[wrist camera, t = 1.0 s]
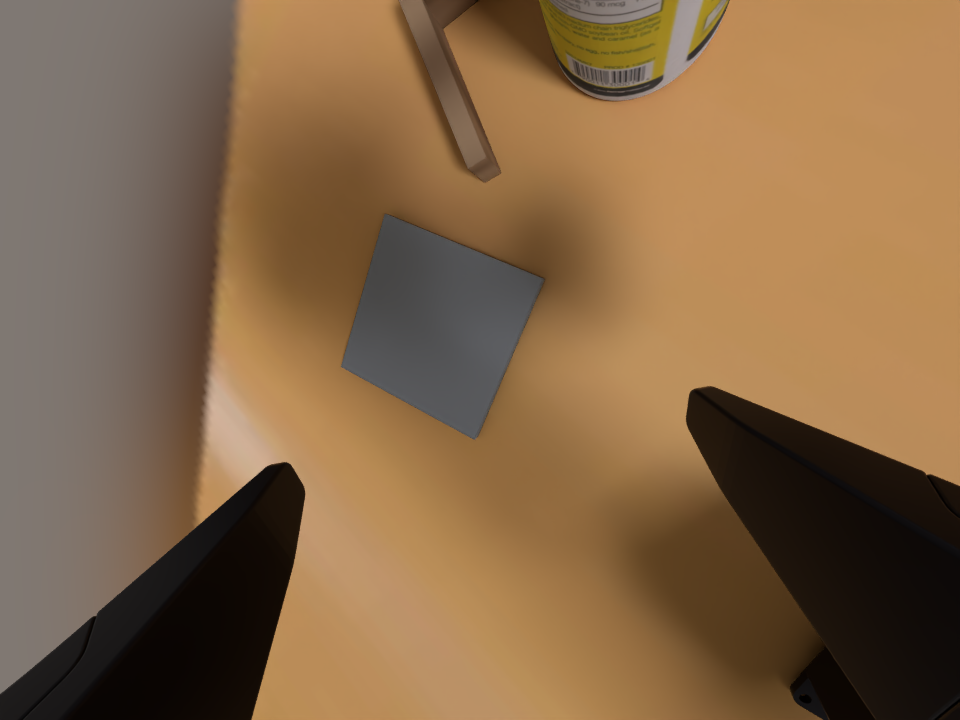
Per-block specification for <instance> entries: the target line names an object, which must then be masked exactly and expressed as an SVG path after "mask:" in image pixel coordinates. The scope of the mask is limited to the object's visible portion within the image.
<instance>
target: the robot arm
mask: <svg viewBox="0 0 960 720" xmlns="http://www.w3.org/2000/svg"><path fill="white" fill-rule="evenodd" d="M686 423H687V427H688V429H689V431H690V433H691V435H692V437H693V439H694V441H695V442H696V444H697V446H698V448H699V450H700V452H701V454H702V456H703V458H704V459H705V461H706V463H707V465H708V467H709V469H710V471H711V473H712V475H713V477H714V478H715V480H716V482H717V484H718V486H719V487H720V489H721V491H722V492H723V494H724V495H725V497H726V498H727V500H728V502H729V503H730V505H731V506H732V507H733V509H734V510H735V512H736V513H737V515H738V516H739V518H740V519H741V521H742V522H743V524H744V525H745V527H746V528H747V530H748V531H749V533H750V534H751V536H752V537H753V539H754V540H755V542H756V543H757V545H758V546H759V547H760V549H761V550H762V552H763V553H764V555H765V556H766V558H767V559H768V561H769V562H770V564H771V565H772V567H773V568H774V570H775V571H776V573H777V574H778V576H779V577H780V579H781V580H782V582H783V583H784V585H785V586H786V588H787V589H788V590H789V592H790V593H791V595H792V596H793V598H794V599H795V601H796V602H797V604H798V605H799V607H800V608H801V610H802V611H803V613H804V614H805V616H806V617H807V619H808V620H809V622H810V623H811V625H812V626H813V628H814V629H815V631H816V632H817V633H818V635H819V636H820V638H821V639H822V641H823V642H824V644H825V645H826V647H825V648H824V649H823V650H822V651H821V652H820V654H819V655H818V656H817V657H816V658H815V659H814V660H813V661H812V662H811V663H810V665H809V666H808V667H807V668H806V669H805V670H804V671H803V672H802V673H801V675H800V676H799V677H798V678H797V679H796V680H795V681H794V682H793V683H792V684H791V686H790V692H791V694H792V696H793V699H794V700H795V702H796V703H797V704H798V705H800V706H802V707H803V708H805V709H807V710H808V711H810V712H812V713H813V714H815V715H817V716H818V717H820V718H822V719H823V720H960V486H958V485H956V484H954V483H951V482H949V481H946V480H944V479H941V478H939V477H936V476H934V475H931V474H929V475H926V474H925V472H923V471H921V470H919V469H916V468H914V467H911V466H909V465H906V464H904V463H901V462H899V461H896V460H894V459H891V458H889V457H886V456H884V455H881V454H879V453H877V452H874V451H872V450H869V449H867V448H864V447H862V446H859V445H857V444H854V443H852V442H849V441H847V440H844V439H842V438H839V437H837V436H834V435H832V434H829V433H827V432H824V431H822V430H820V429H817V428H815V427H812V426H810V425H807V424H805V423H802V422H800V421H797V420H795V419H792V418H790V417H787V416H785V415H782V414H780V413H777V412H775V411H772V410H770V409H767V408H765V407H762V406H760V405H758V404H755V403H753V402H750V401H748V400H745V399H743V398H740V397H738V396H735V395H733V394H730V393H728V392H725V391H723V390H720V389H718V388H715V387H712V386H707V387H701V388H696V389H693V390H692V391H691V392H690V394H689V400H688V407H687V414H686ZM304 500H305V489H304V486H303V484H302V482H301V480H300V479H299V477H298V475H297V474H296V472H295V471H294V469H293V467H292V466H291V464H289V463H287V462H282V463H277V464H271V465H269V466H267V467H266V468H264V469H263V470H262V471H261V472H260V473H259V474H257V475H256V476H255V477H254V478H253V479H252V480H251V481H249V482H248V483H247V484H246V485H245V486H244V487H242V488H241V489H240V490H239V491H238V492H237V493H235V494H234V495H233V496H232V497H231V498H230V499H229V500H227V501H226V502H225V503H224V504H223V505H222V506H220V507H219V508H218V509H217V510H216V511H215V512H213V513H212V514H211V515H210V516H209V517H208V518H206V519H205V520H204V521H203V522H202V523H201V524H200V525H198V526H197V527H196V528H195V529H194V530H193V531H191V532H190V533H189V534H188V535H187V536H186V537H185V538H183V539H182V540H181V541H180V542H179V543H178V544H176V545H175V546H174V547H173V548H172V549H171V550H170V551H168V552H167V553H166V554H165V555H164V556H163V557H161V558H160V559H159V560H158V561H157V562H156V563H155V564H153V565H152V566H151V567H150V568H149V569H148V570H146V571H145V572H144V573H143V574H142V575H140V576H139V577H138V578H137V579H136V580H135V581H134V582H132V583H131V584H130V585H129V586H128V587H127V588H125V589H124V590H123V591H122V592H121V593H120V594H118V595H117V596H116V597H115V598H114V599H113V600H112V601H110V602H109V603H108V604H107V605H106V606H105V607H104V608H102V609H101V610H100V611H99V612H98V613H97V616H93V617H92V618H90V619H89V620H88V621H87V622H86V623H85V624H84V625H82V626H81V627H80V628H79V629H78V630H77V631H76V632H74V633H73V634H72V635H71V636H70V637H69V638H67V639H66V640H65V641H64V642H63V643H61V644H60V645H59V646H58V647H57V648H56V649H55V650H53V651H52V652H51V653H50V654H48V655H47V656H46V657H45V658H44V659H43V660H41V661H40V662H39V663H38V664H37V665H35V666H34V667H33V668H32V669H31V670H30V671H28V672H27V673H26V674H25V675H23V676H22V677H21V678H20V679H18V680H17V681H16V682H15V683H13V684H12V685H11V686H10V687H8V688H7V689H6V690H5V691H4V692H2V693H1V694H0V720H251V719H252V715H253V712H254V708H255V704H256V701H257V697H258V693H259V690H260V686H261V682H262V679H263V675H264V671H265V668H266V664H267V660H268V657H269V653H270V649H271V646H272V642H273V638H274V635H275V631H276V627H277V624H278V620H279V616H280V613H281V609H282V605H283V602H284V598H285V594H286V591H287V587H288V583H289V580H290V576H291V572H292V568H293V564H294V559H295V554H296V549H297V543H298V537H299V531H300V525H301V519H302V512H303V506H304ZM802 694H806V695H805V696H802Z"/></svg>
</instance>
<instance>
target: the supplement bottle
mask: <svg viewBox="0 0 960 720" xmlns="http://www.w3.org/2000/svg"><path fill="white" fill-rule="evenodd" d="M729 1H730V0H539V3H540V6H541V10H542V13H543V17H544V20H545V23H546V27H547V30H548V34H549V37H550V41H551V44H552V48H553V51H554V54H555V56H556V59H557V61H558V64H559V66H560V68H561V69H562V71H563V73H564V74H565V75H566V77H567V78H568V79H569V80H570V81H571V82H572V83H573V84H574V85H575V86H576V87H577V88H578V89H580V90H581V91H583V92H584V93H586V94H588V95H590V96H593V97H595V98H599V99H603V100H610V101H623V100H631V99H635V98H639V97H642V96H645V95H648V94H650V93H652V92H655V91H657V90H659V89H660V88H662V87H664V86H666V85H667V84H669V83H670V82H672V81H673V80H674V79H676V78H677V77H678V76H679V75H680V74H682V73H683V72H684V71H685V70H686V69H687V68H688V67H689V66H690V65H691V64H692V63H693V62H694V61H695V60H696V59H697V58H698V57H699V56H700V54H701V53H702V52H703V51H704V49H705V48H706V47H707V45H708V44H709V42H710V41H711V39H712V38H713V36H714V34H715V33H716V31H717V29H718V27H719V25H720V23H721V21H722V18H723V16H724V13H725V11H726V8H727V6H728V3H729Z"/></svg>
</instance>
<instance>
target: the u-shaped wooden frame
mask: <svg viewBox="0 0 960 720" xmlns="http://www.w3.org/2000/svg"><path fill="white" fill-rule="evenodd" d="M477 1H478V0H399V2H400V4H401V7H402V9H403V12H404V14H405V17H406V19H407V21H408V24H409V26H410V29H411V31H412V34H413V36H414V39H415V41H416V43H417V46H418V48H419V51H420V53H421V56H422V58H423V60H424V63H425V65H426V68H427V70H428V73H429V75H430V78H431V80H432V82H433V85H434V87H435V90H436V92H437V95H438V97H439V99H440V102H441V104H442V107H443V109H444V112H445V114H446V117H447V119H448V121H449V124H450V126H451V129H452V131H453V134H454V136H455V138H456V141H457V143H458V146H459V148H460V151H461V153H462V156H463V158H464V160H465V163H466V165H467V168H468V169H469V170H470V171H471V172H472V173H474V174H475V175H476V176H477V177H479V178H480V179H481V180H482V181H483V182H487V181H489V180H490V179H492V178H494V177H495V176H497V175H499V174H500V173H501V171H500V168H499V166H498V163H497V161H496V158H495V156H494V153H493V151H492V149H491V146H490V144H489V141H488V139H487V136H486V134H485V131H484V129H483V127H482V124H481V122H480V119H479V117H478V114H477V112H476V109H475V107H474V104H473V102H472V100H471V97H470V95H469V92H468V90H467V87H466V85H465V82H464V80H463V78H462V75H461V73H460V70H459V68H458V65H457V63H456V60H455V58H454V55H453V53H452V51H451V48H450V46H449V43H448V41H447V38H446V36H445V33H444V31H443V28H444V27H446V26H447V25H448V24H449V23H451V22H452V21H453V20H454V19H456V18H457V17H458V16H459V15H461V14H462V13H463V12H464V11H465V10H467V9H468V8H469V7H470V6H472V5H473V4H474V3H475V2H477Z"/></svg>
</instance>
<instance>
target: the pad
mask: <svg viewBox="0 0 960 720" xmlns="http://www.w3.org/2000/svg"><path fill="white" fill-rule="evenodd" d="M544 280H545V279H544V278H541V277H539V276H536V275H534V274H531V273H529V272H527V271H524V270H522V269H519V268H517V267H514V266H512V265H510V264H507V263H505V262H502V261H500V260H497V259H495V258H493V257H490V256H488V255H485V254H483V253H480V252H478V251H476V250H473V249H471V248H468V247H466V246H463V245H461V244H459V243H456V242H454V241H451V240H449V239H446V238H444V237H442V236H439V235H437V234H434V233H432V232H429V231H427V230H425V229H422V228H420V227H417V226H415V225H412V224H410V223H408V222H405V221H403V220H400V219H398V218H395V217H393V216H391V215H388V214H385V215H384V219H383V222H382V226H381V229H380V233H379V236H378V240H377V243H376V247H375V250H374V254H373V257H372V261H371V264H370V268H369V271H368V275H367V278H366V282H365V285H364V289H363V292H362V296H361V299H360V303H359V306H358V310H357V313H356V317H355V320H354V324H353V327H352V331H351V334H350V338H349V341H348V345H347V348H346V352H345V355H344V359H343V362H342V366H341V367H342V368H344V369H346V370H348V371H350V372H351V373H353V374H355V375H357V376H359V377H361V378H362V379H364V380H366V381H368V382H370V383H372V384H373V385H375V386H377V387H379V388H381V389H383V390H384V391H386V392H388V393H390V394H392V395H393V396H395V397H397V398H399V399H401V400H403V401H404V402H406V403H408V404H410V405H412V406H414V407H415V408H417V409H419V410H421V411H423V412H425V413H426V414H428V415H430V416H432V417H434V418H436V419H437V420H439V421H441V422H443V423H445V424H446V425H448V426H450V427H452V428H454V429H456V430H457V431H459V432H461V433H463V434H465V435H467V436H468V437H470V438H472V439H474V440H475V439H476V438H477V437H478V435H479V433H480V430H481V428H482V426H483V423H484V421H485V419H486V416H487V414H488V412H489V409H490V407H491V405H492V402H493V400H494V398H495V395H496V393H497V391H498V388H499V386H500V383H501V381H502V379H503V376H504V374H505V372H506V369H507V367H508V365H509V362H510V360H511V358H512V355H513V353H514V351H515V348H516V346H517V344H518V341H519V339H520V337H521V334H522V332H523V329H524V327H525V325H526V322H527V320H528V318H529V315H530V313H531V311H532V308H533V306H534V304H535V301H536V299H537V297H538V294H539V292H540V290H541V287H542V285H543V283H544Z"/></svg>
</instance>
